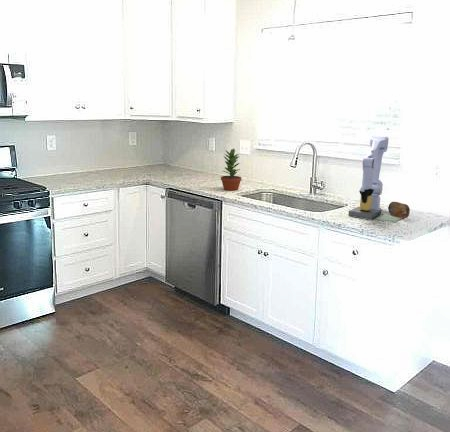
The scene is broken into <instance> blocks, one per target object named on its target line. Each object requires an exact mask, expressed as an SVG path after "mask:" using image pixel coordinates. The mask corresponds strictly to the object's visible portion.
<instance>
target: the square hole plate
mask: <svg viewBox="0 0 450 432" xmlns="http://www.w3.org/2000/svg"><path fill="white" fill-rule="evenodd" d="M381 215H382V210H381V209H379V210H377V209H370V210H368V211H367V210H361V209H360V206H356V207H354V208H351V209H349V210H348V217H354V218H359V219H364V218H365V220H370V219H371V221H372V219H373V220H374V218H377V217H379V216H381Z"/></svg>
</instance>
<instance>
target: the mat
mask: <svg viewBox="0 0 450 432" xmlns="http://www.w3.org/2000/svg"><path fill="white" fill-rule="evenodd" d="M375 220H378V221H382V222H383V221H385V222H389V223H398V221H400V220H402V219H401V218H399V217H395V216H392V215H387V214H386V215H385V214H381V216H379V217H377V218H375Z"/></svg>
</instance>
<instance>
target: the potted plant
mask: <svg viewBox="0 0 450 432" xmlns="http://www.w3.org/2000/svg"><path fill="white" fill-rule="evenodd" d="M224 151H225V152H226V153H224V155H223V158H224V159H225V160H224V162H225V164H226V166H227V167H224V169H225V170H226V171H225V170H222V172H224V173H226V174H229V175H221V176H220V180H221V183H222V187H223V190H224V191H227V192H235V191H239V189H240V184H241V182H242V176H240V175H239V176H238V175H236V174H237V173H238V171H240V170H241V169H240V168H239V169H236V167H237V166H238V165H239V164H241V163H239V162H238V160H239V159H238V158H240V157H241V155H240V153H236V154H235V152H236V149H235V148H234V147H233V148H232V149H230V151H228V150H225V149H224Z"/></svg>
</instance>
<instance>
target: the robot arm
mask: <svg viewBox="0 0 450 432" xmlns="http://www.w3.org/2000/svg"><path fill="white" fill-rule="evenodd" d="M369 145H370V149H369V150H368V152H367V153H366V156H365V157H363V159H362V182H361V186H360V189H359V190H358V192H359V193H360V194H359V195H360V199H361V198H362V203H366V202H367V198H368V195H370V196H372V200H371V209H377V210H381V209H382V207H380V205H381V197H380V196H381V195H382V193H383V186H384V185H383V182H382V181H381V179H379V178H380V173H381V167H382V160H383V156H384V153H386V152H387V151H388V147H389V137H388V136H376V135H372V136H370V140H369Z"/></svg>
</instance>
